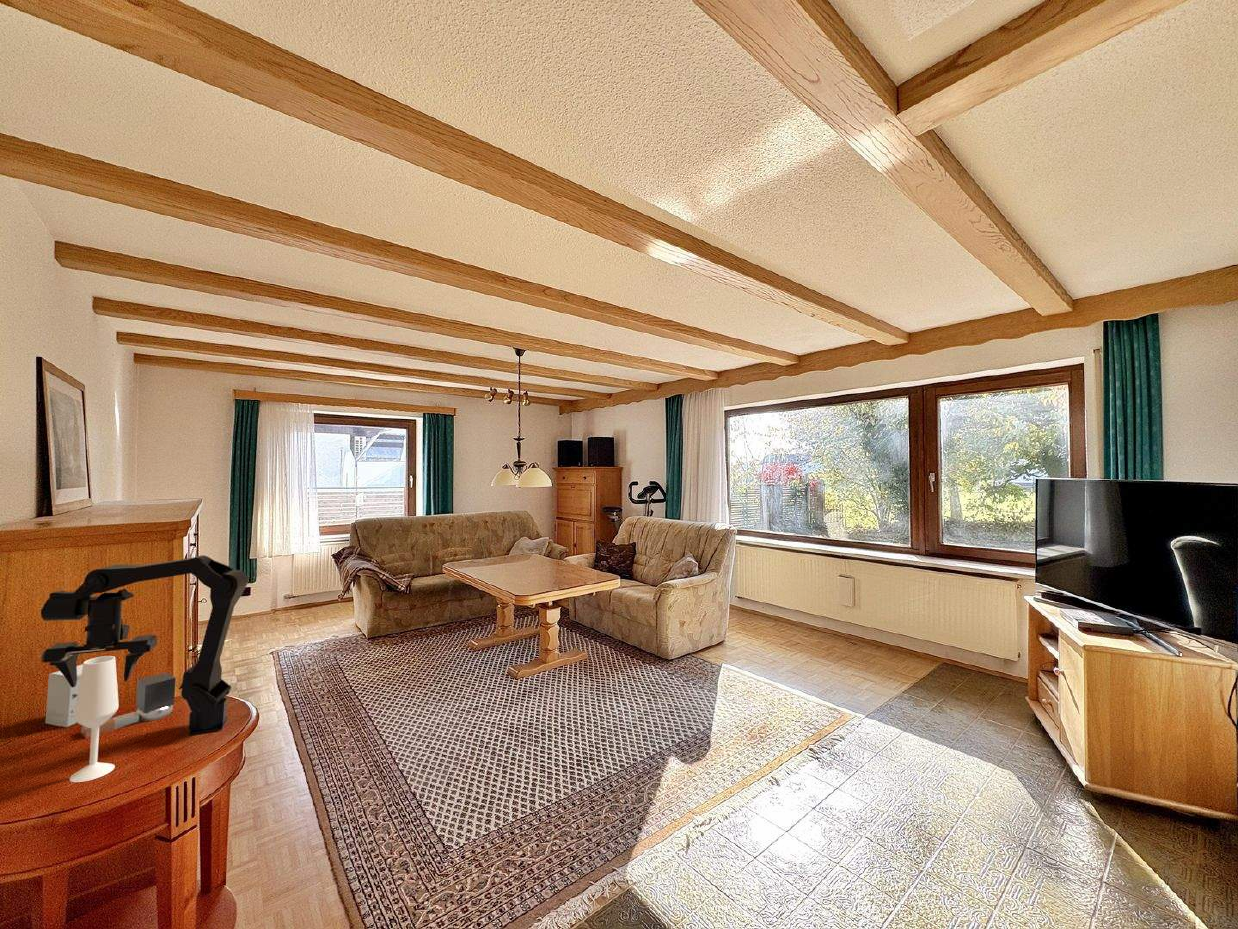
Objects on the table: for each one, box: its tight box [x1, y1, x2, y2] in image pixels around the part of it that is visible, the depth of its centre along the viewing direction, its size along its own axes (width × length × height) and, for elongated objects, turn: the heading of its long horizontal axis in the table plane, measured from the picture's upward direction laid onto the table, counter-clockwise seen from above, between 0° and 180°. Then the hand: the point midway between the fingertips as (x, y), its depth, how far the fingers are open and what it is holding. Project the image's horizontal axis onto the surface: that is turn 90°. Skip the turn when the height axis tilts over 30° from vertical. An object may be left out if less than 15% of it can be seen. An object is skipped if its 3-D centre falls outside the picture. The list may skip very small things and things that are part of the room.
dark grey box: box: [135, 672, 176, 713], centre depth 131 cm, size 6×6×7 cm
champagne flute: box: [69, 655, 119, 783], centre depth 106 cm, size 7×7×24 cm
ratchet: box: [80, 705, 174, 739], centre depth 127 cm, size 7×16×6 cm, turn 148°
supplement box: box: [45, 663, 84, 728], centre depth 127 cm, size 7×7×13 cm
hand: (100, 683), depth 119 cm, fingers open, 9 cm apart
